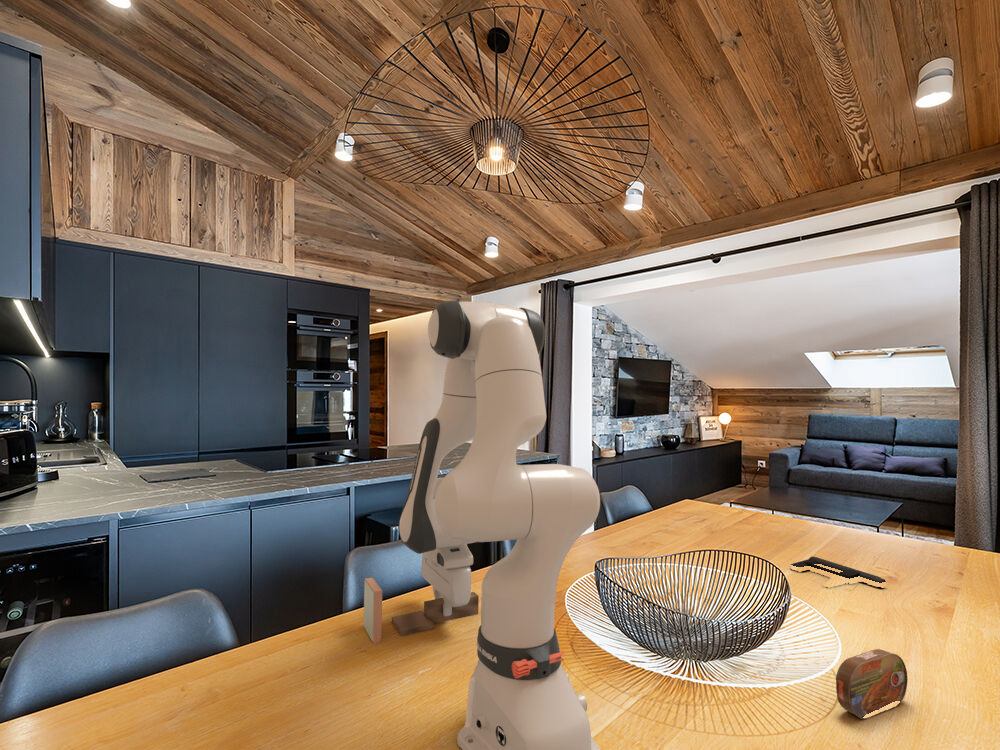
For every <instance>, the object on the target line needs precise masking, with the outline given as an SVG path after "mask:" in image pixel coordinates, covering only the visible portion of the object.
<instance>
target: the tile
mask: <svg viewBox="0 0 1000 750" xmlns="http://www.w3.org/2000/svg"><path fill="white" fill-rule="evenodd" d="M363 588H364V592H363V593H364V594H363V595H364V597H363V628H364V630H365V632H367V635H368V636H369V638H370V640H371V642H373V644H377V643H381V642H382V628H383V627H382V622H383V621H382V617H383V590H382V588H381V587H380V586H379V584H378V583H377V581H376V580H375V579H374V577H366V578H364V587H363Z"/></svg>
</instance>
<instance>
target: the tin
mask: <svg viewBox="0 0 1000 750" xmlns="http://www.w3.org/2000/svg"><path fill="white" fill-rule="evenodd" d="M835 684H836V686H835V687H836V688H835V689H836V698H837V701H838V704H839V705H840V707H841V708H842V709H844V710H845V711H846V712H849V713H850V714H852V715H854V716H856V717H857V718H859V719H861V720H864V719H863V717H864V716H865V715H866V714H869V713H871V712H873V711H875V710H879V709H880V708H882V707H884V706H886V705H888V704H890V703H892V702H895V701H900V702H901V701H902V702H903V700H904V698H905V695H906V693H907V688H908V671H907V666H906V664H905V661H904V660H903V659H902V658H901V656H900V655H898V654H896V653H892V652H889V651H886V650H883V649H880V648H876V649H871V650H869V651H866V652H863V653H860V654H857V655H854V656H851V657H848V658H846V659H844V661H842V663H840V666H839V667H838V670H837V671H836V676H835ZM902 702H901V703H902Z"/></svg>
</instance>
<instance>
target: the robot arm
mask: <svg viewBox="0 0 1000 750" xmlns="http://www.w3.org/2000/svg"><path fill="white" fill-rule="evenodd" d="M427 336H428V339H429V345H430V347H431V349H432V350H433V351H434V352H435V354H436V355H438V356H441V357H444V358H447V363H446V367H445V372H444V379H443V390H442V398H441V403H440V405H439V407H438V410H437V412H436V415H435V416H434V417H433V418H432V419H430V420H429V421H427V422H426V424H425V426H424V429H423V430H422V433H421V437H420V442H419V444H418V448H417V453H416V457H415V462H414V466H413V470H412V475H411V479H410V483H409V487H408V492H407V497H406V499H405V502H404V505H403V507H402V510H401V513H400V517H399V522H398V523H399V524H398V525H399V527H398V529H399V530H398V531H399V537H400V540H401V542H402V544H404V545H405V546H406V547H407V548H408V549H409V550H411V551H412V552H414V553H416V554H418V555H420V554H422V556H421V566H420V567H421V568H420V569H421V576H422V578H424V579H425V580H426V582H427V583H428V584H429V585H430V586H432V591H433V597H434V599H439V598H443V600H444V604H443V606H442V614H443V615H444V616H450V615H451V614H452V606H453V607H458V606H463V605H467V604H468V602H469V600H470V595H471V592H472V569H471V567H470V566H473V564H474V556H473V554H472V552H471V551H470V549H469V547H468V544H473V543H486V542H487V543H489V542H500V541H513V540H516V542H515V543H514V546H513V547H512V548H511V550H510V551H509V552H508V554H506V555H505V556H504V557H503V558H501V559H500V560H497V562H495V563H494V564H493V565H492V566H490V568H489V569H487V572H486V573H485V575H484V577H483V580H482V581H481V602H480V603H481V604H480V607H481V608H480V625H479V627H478V630H477V637H476V646H477V651H476V652H477V653H476V655H477V657H478V661H477V663H476V666H475V669H474V671H473V673H472V675H471V677H470V680H469V682H468V691H467V703H466V714H465V715H466V716H465V724H464V726H462V727H461V728H460V730H459V731H458V733H457V738H456V744H457V745H458V747H459V748H461V750H601V748H600V747H599V745H598V744H597V742H596V741H595V740H594V738H593V737H592V733H591V732H592V731H591V725H590V723H591V722H590V720H589V717H588V715H587V710H588V701H587V699H586V695H584V694H583V693H578V694H577V693H576V691H575V688H574V687H573V685H572V683H571V681H570V676H569V674H568V673H567V672H566V671H565V670H564V667H563V665H562V661H563V660H565V658H564V657H562V656H563V655H565V651H561V650H560V642H559V639H558V635H557V631H556V629H555V610H556V609H555V607H556V593H557V585H558V579H559V576H560V572H561V569H562V567H563V565H564V562H565V561H566V558H567V556H568V554H569V552H570V550H572V547H573V546H574V544H575V543H576V542H577V541H578V539H579V538H580V537H581V536H582V535H583V534H584V533H585V532H586V531H587V530H589V529H590V528H591V527H592V526H593V525H594V523H595V522H596V520H597V518H598V515H599V512H600V509H601V495H600V489H599V488H598V485H597V483H596V480H595V479H594V477H593V476H592V475H591V474H590V473H589V472H588V471H587V470H586V469H584V468H582V467H575V466H571V465H567V464H560V463H547V464H546V463H545V464H543V463H542V464H541V463H540V464H538V463H537V464H517V450H518V447H520V446H522V445H524V444H526V443H528V442H529V441H531V440H533V438H535V437H537V436H538V435H539V434H540V433H541V431H542V430H543V429H544V427H545V424H546V421H547V411H546V410H547V409H546V402H545V393H544V383H543V382H544V381H543V375H542V373H543V372H542V366H541V361H540V356H539V355H540V354H541V352H542V350H543V348H544V344H545V340H546V339H545V338H546V328H545V323H544V321H543V319H542V317H541V315H540V314H539V313H538V312H536V311H534V310H531V309H528V308H525V307H519V308H518V307H514V306H510V305H504V304H497V303H492V302H489V301H459V300H455V299H454V300H446V301H441V302H439V303H438V304H437V305H436V306H435V307H433V310H432V312H431V314H430V317H429V320H428V324H427ZM467 442H471V444H470V447H469V449H467V452H466V454H465V455H464V457H463V458H462V460H460V462H459V463H458V464H457V465H456V466H455V467H453V468H452V470H450V471H449V472H448V473H447V474H444V475H439V472H440V469H441V468H440V467H441V464H442V461H443V460H444V458H445V457H446V456H447V455H448V454H449V453H450V452H452V451H453V450H455V449H456V448H458V447H460V446H462V445H463V444H466V443H467Z"/></svg>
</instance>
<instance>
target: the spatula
mask: <svg viewBox="0 0 1000 750" xmlns="http://www.w3.org/2000/svg"><path fill="white" fill-rule="evenodd" d="M479 601H480V600H479V595H478V594H477V592H475V591H471V595H470V600H469V602H468V604H467V605H463V606H458V607H453V606H452V614H451V615H450V616H444V615H443V614H442V606H443V604H444V600H443V598H439V599H435V598H433V599H430V600H429V599H428V600H424V601H423V610H420V611H415V612H410V613H405V614H399V615H395V616H391V624H392V625H393V626H394V627H395V629H396V630H397V632H398V633H399V635H400V637H402V636H407V635H410V634H415V633H420V632H425V631H429V630H434V628H435V627H434V626H435V624H436V623H437V624H438V623H442V622H447V621H451V620H456V619H460V618H466V617H470V616H474V615H475V616H476V615H478V614H479Z"/></svg>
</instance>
